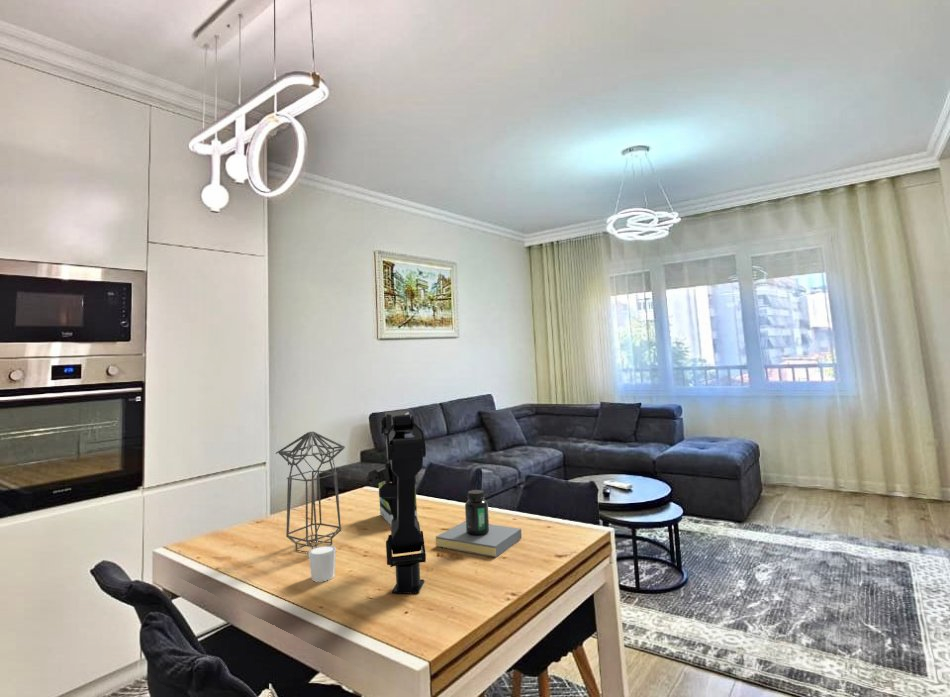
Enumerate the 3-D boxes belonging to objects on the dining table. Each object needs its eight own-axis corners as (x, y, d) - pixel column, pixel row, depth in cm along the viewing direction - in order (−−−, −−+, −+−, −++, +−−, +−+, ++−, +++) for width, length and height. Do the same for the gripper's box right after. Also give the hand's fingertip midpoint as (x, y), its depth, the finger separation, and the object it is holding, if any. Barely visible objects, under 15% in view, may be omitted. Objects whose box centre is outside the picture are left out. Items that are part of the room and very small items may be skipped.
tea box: (379, 515, 179) (377, 474, 180) (405, 510, 184) (403, 470, 184) (390, 526, 166) (388, 482, 166) (418, 521, 170) (416, 478, 171)
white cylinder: (327, 569, 130) (326, 543, 131) (342, 575, 126) (341, 548, 126) (303, 579, 125) (302, 551, 126) (319, 585, 121) (317, 556, 121)
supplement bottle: (487, 536, 142) (485, 494, 142) (464, 536, 143) (462, 494, 143) (490, 528, 148) (488, 488, 149) (468, 528, 149) (466, 489, 150)
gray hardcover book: (495, 557, 133) (494, 546, 133) (435, 547, 143) (435, 536, 144) (521, 538, 147) (521, 528, 147) (465, 530, 157) (465, 520, 157)
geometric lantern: (316, 536, 159) (313, 428, 160) (352, 543, 151) (348, 428, 152) (275, 553, 145) (271, 434, 147) (311, 561, 137) (307, 436, 139)
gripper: (380, 452, 143) (382, 506, 142) (358, 465, 124) (360, 527, 124) (417, 451, 142) (420, 505, 141) (400, 463, 123) (403, 526, 123)
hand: (401, 515), depth 132 cm, fingers open, 9 cm apart
